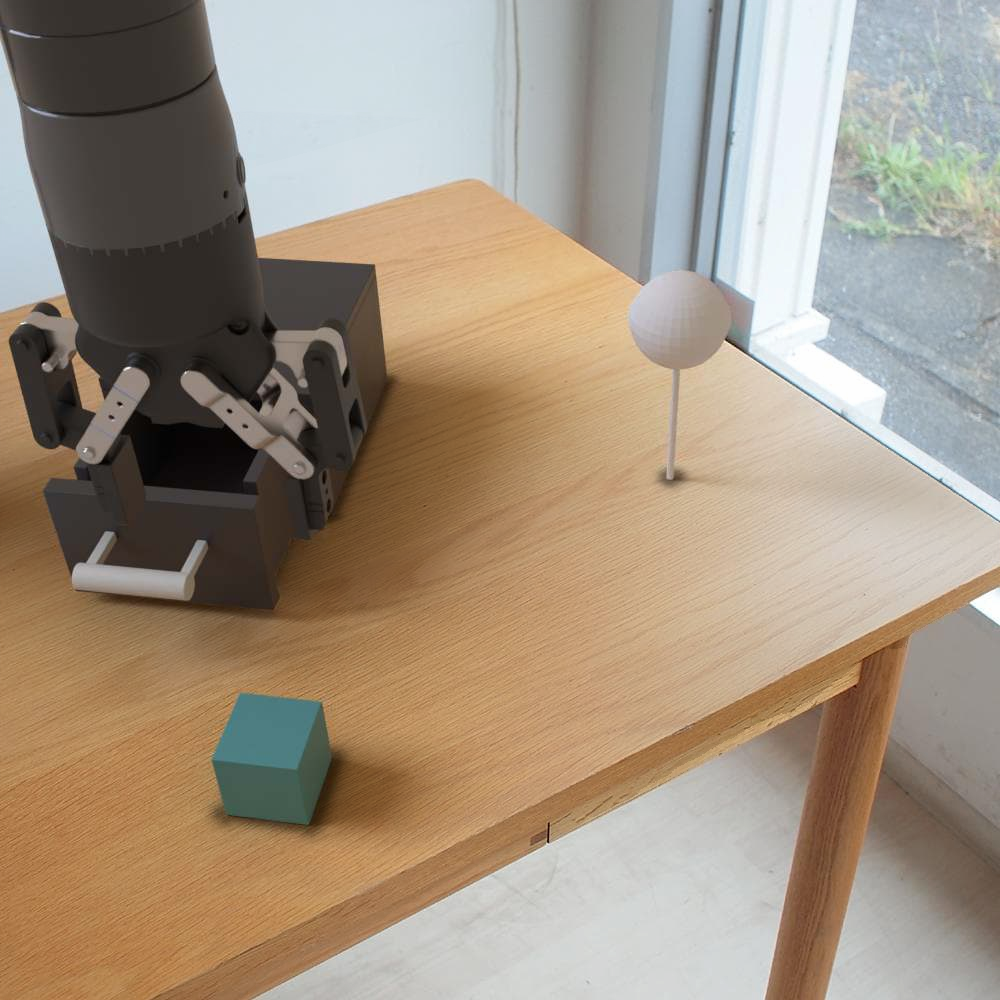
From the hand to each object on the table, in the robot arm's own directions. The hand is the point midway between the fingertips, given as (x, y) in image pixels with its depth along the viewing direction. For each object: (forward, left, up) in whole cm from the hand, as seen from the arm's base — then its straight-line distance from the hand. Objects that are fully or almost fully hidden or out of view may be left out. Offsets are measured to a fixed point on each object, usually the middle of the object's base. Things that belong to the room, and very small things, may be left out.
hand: (220, 521), depth 60 cm
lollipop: (+19, +26, -16) cm, 36 cm away
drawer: (-9, +14, -15) cm, 23 cm away
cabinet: (-9, +27, -16) cm, 32 cm away
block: (+1, -2, -16) cm, 16 cm away
